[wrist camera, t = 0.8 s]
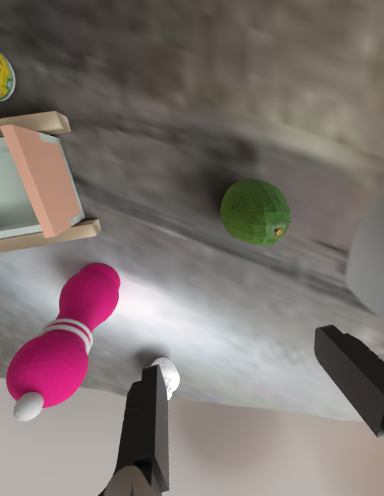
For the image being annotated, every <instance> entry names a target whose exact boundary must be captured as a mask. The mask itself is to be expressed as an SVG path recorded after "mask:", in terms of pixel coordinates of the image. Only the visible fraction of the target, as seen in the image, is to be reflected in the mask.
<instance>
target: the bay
mask: <svg viewBox="0 0 384 496" xmlns="http://www.w3.org/2000/svg"><path fill="white" fill-rule="evenodd" d="M11 124H12V125H16V126H19V127H22V128H26V129H29V130H33V131H36V132H40V133H43V134H46V135H53V134H60V133H67V132H71V129H70V126H69V122H68V119H67V117H66V116H64V115H62V114H60V113H58V112H56V111H51V112H44V113H37V114H30V115H22V116H15V117H8V118H1V119H0V126H4V125H11ZM1 137H4V136H3V133H2V131H1V128H0V138H1ZM100 231H101V227H100V223H99V220H98V219H95V220H89V221H84V222H78V223H76V224H74V225H73V226H71V227H70V228H68V229H66V230H65V231H63V232H62V233H60V234H58V235H57V236H55V237H49V238H45V236H44V234H43V231H40V232H35V233H29V234H23V235H17V236H11V237H5V238H0V253H1V252H6V251H12V250H18V249H24V248H29V247H35V246H41V245H46V244H52V243H58V242H64V241H69V240H75V239H81V238H86V237H92V236H96V235H97V234H98V233H99V232H100Z"/></svg>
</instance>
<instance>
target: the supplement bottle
mask: <svg viewBox="0 0 384 496" xmlns="http://www.w3.org/2000/svg"><path fill="white" fill-rule="evenodd" d="M14 88H15V75H14V72H13V69H12V67H11V65H10V63H9V62H8V60H7V59H6V58H5V57H4V56H3V55H2V54H1V53H0V102H1V101H4V100H6V99H8V98H9V97H10V96H11V95H12V93H13V91H14Z"/></svg>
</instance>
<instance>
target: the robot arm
mask: <svg viewBox="0 0 384 496" xmlns="http://www.w3.org/2000/svg"><path fill="white" fill-rule="evenodd" d="M314 351H315V355H316V358H317V360H318V362H319V363H320V365H321V366H322V367H323V368H324V370H325V371H326V372H327V373H328V375H329V376H330V377H331V379H332V380H333V381H334V382H335V384H336V385H337V386H338V388H339V389H340V390H341V391H342V393H343V394H344V395H345V397H346V398H347V399H348V400H349V402H350V403H351V404H352V406H353V407H354V408H355V409H356V411H357V412H358V413H359V414H360V416H361V417H362V418H363V420H364V421H365V422H366V423H367V425H368V426H369V427H370V429H371V430H372V431H373V432H374V434H375V435H376V436H377V437H381V436H384V361H383V360H381V359H379V357H378V356H377V355H376V354H375V353H374V352H373V351H371V350H370V349H369V348H368V347H367V346H366V345H365V344H364V343H363V342H361V341H360V340H359V339H357V338H355V337H353V336H351V335H350V334H348V333H346V334H343V333H342V332H341V331H340V330H338V329H337V328H336V327H335V326H334V325H328V326H324V327H319V328H316V330H315V347H314ZM168 490H169V455H168V399H167V389H166V384H165V381H164V378H163V375H162V372H161V368H160V365H159V364H156V365H152V366H148V367H144V368H143V371H142V381H138V382H134V383H133V384H132V386H131V388H130V390H129V392H128V394H127V400H126V410H125V413H124V421H123V426H122V433H121V439H120V446H119V452H118V459H117V464H116V469H115V471H114V474H113V477H112V478H111V480H110V481H109V483H108V485H107V486H106V488H105V489H104V490H103V492H101V493H100V494H99V495H98V496H162V494H161V493H162V492H164V491H168Z"/></svg>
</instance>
